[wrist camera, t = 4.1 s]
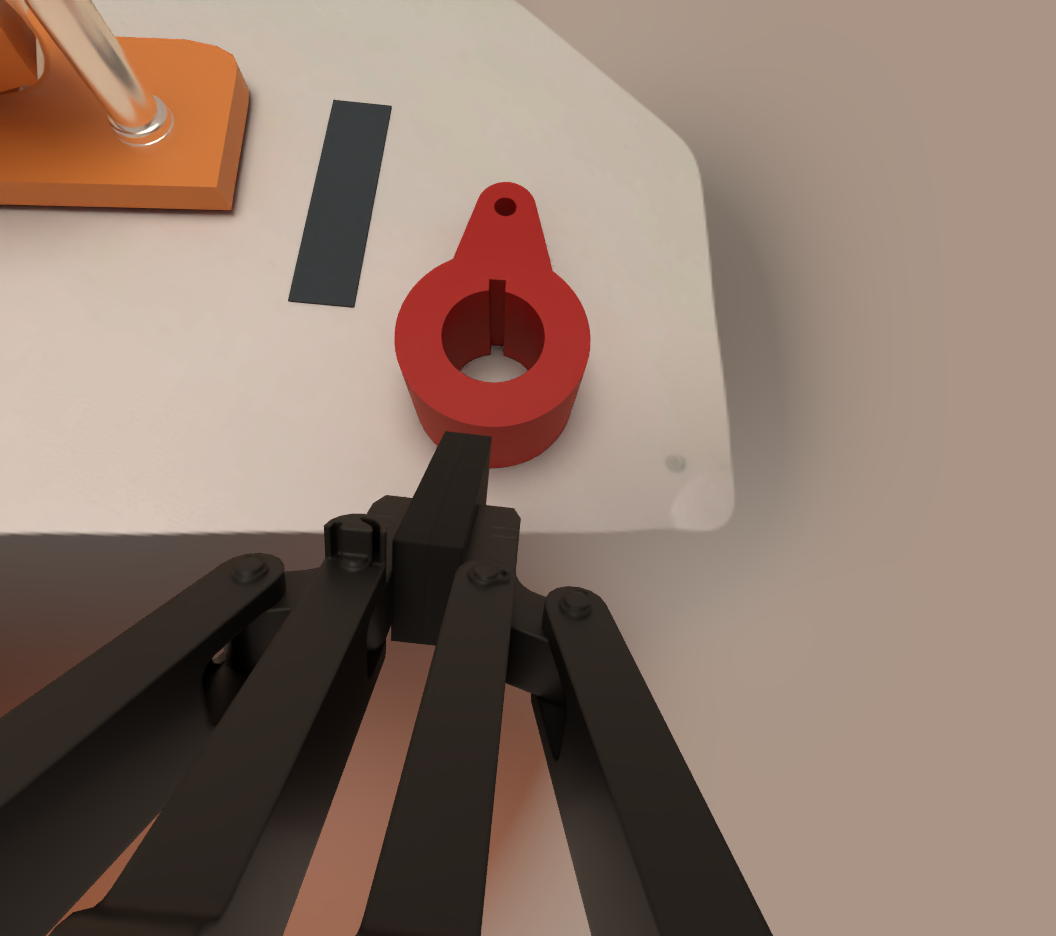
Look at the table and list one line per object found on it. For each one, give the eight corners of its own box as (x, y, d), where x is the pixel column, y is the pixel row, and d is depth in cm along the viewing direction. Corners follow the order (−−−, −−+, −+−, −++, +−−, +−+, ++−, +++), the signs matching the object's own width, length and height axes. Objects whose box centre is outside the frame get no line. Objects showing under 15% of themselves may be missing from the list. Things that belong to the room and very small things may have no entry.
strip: (391, 106, 39) (391, 105, 39) (354, 307, 34) (353, 306, 34) (333, 101, 39) (333, 99, 39) (288, 301, 34) (288, 300, 34)
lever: (570, 472, 32) (588, 433, 26) (406, 462, 32) (383, 419, 25) (578, 213, 37) (594, 127, 31) (436, 202, 37) (423, 112, 31)
